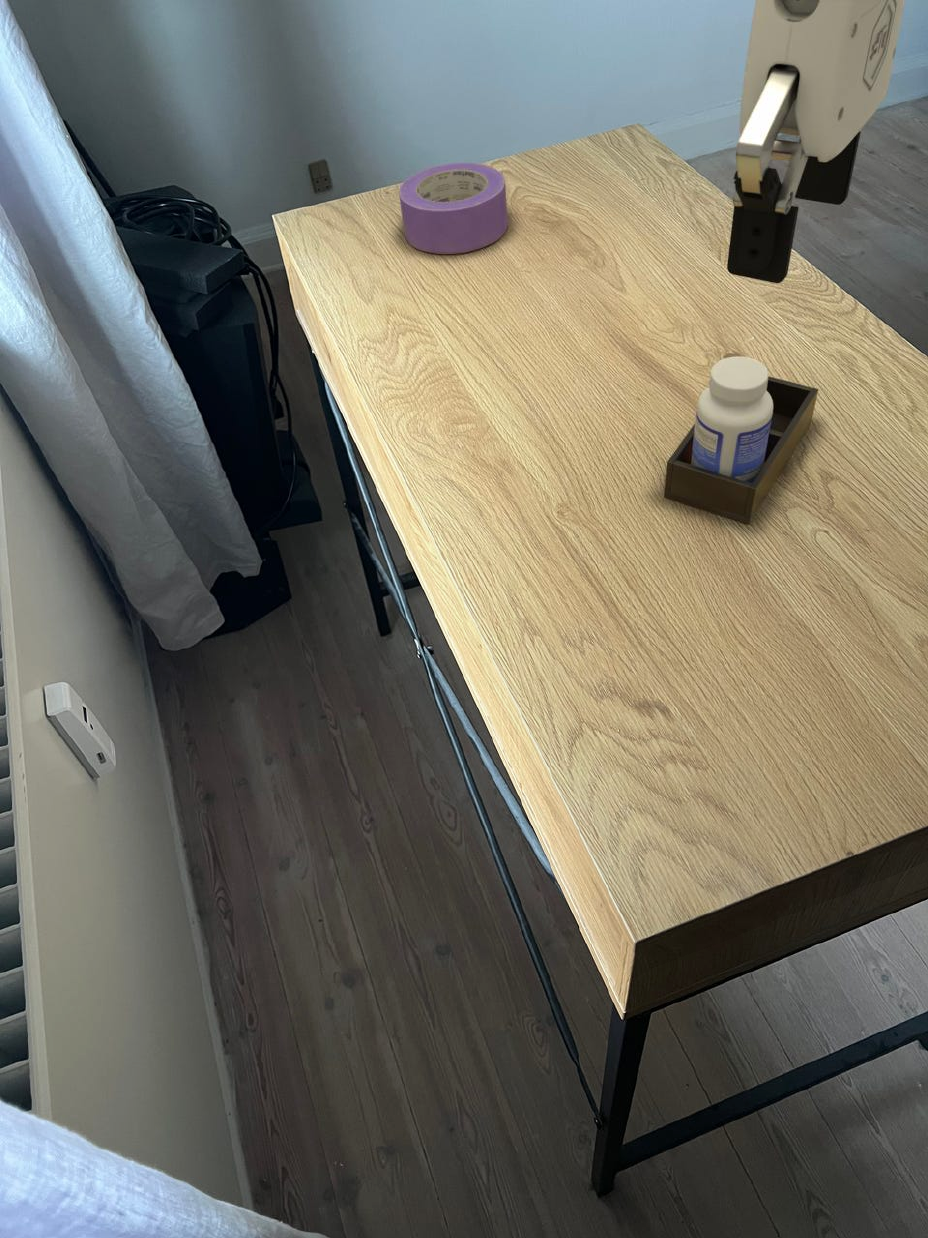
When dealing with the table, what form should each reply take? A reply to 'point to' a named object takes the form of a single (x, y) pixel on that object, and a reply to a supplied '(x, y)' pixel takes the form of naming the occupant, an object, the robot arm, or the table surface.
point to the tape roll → (454, 208)
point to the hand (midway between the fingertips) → (788, 235)
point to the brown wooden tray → (746, 498)
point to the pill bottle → (733, 419)
